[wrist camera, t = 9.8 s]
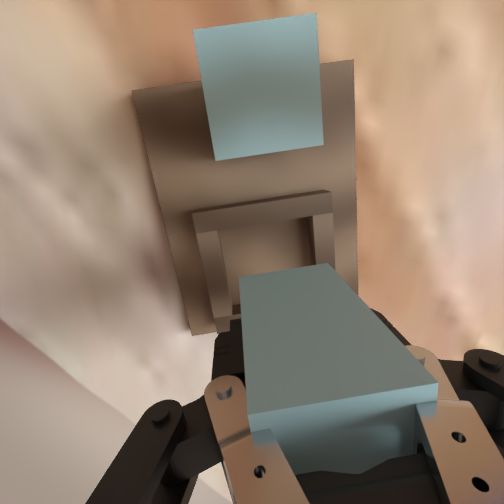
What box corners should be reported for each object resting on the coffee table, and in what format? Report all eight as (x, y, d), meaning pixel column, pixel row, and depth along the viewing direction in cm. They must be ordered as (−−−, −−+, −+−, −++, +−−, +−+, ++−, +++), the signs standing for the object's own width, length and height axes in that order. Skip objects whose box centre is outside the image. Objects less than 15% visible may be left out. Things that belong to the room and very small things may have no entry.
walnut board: (136, 94, 18) (56, 39, 10) (347, 64, 19) (445, -14, 10) (193, 328, 24) (173, 421, 16) (353, 302, 25) (419, 379, 16)
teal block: (238, 276, 14) (247, 415, 6) (327, 262, 14) (438, 382, 7) (251, 351, 16) (270, 536, 8) (332, 338, 16) (427, 508, 8)
